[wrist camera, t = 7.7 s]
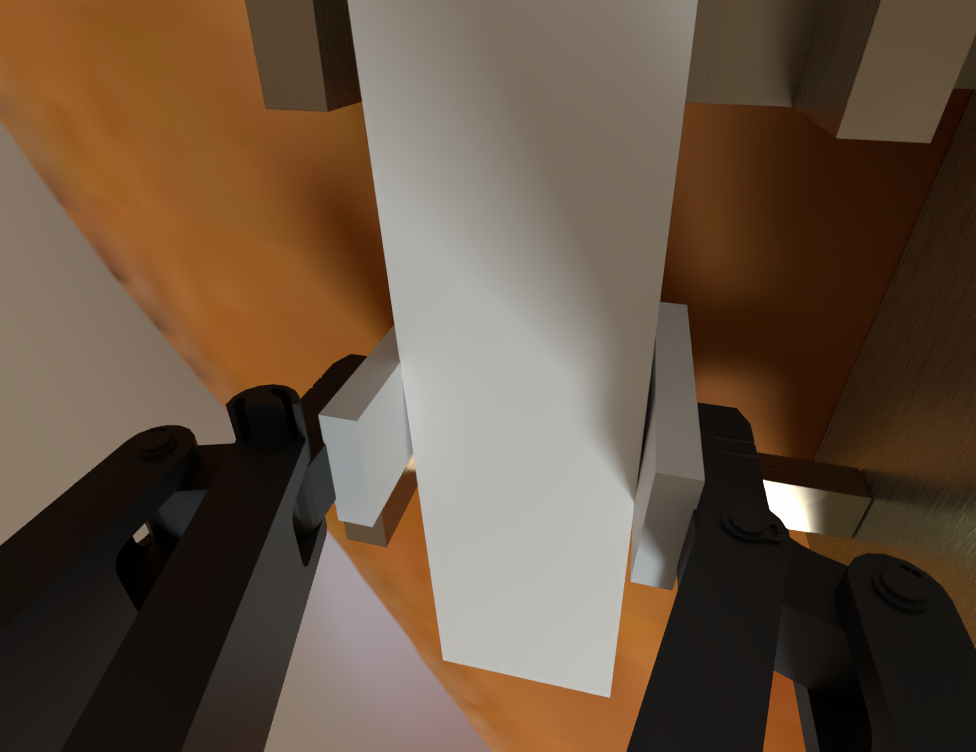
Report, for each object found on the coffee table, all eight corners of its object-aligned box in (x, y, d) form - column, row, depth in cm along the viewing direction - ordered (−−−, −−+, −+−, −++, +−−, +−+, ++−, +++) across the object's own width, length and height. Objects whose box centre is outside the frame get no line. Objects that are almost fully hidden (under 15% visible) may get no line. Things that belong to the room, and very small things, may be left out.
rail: (445, -61, 12) (331, -105, 8) (694, -84, 11) (717, -151, 7) (484, 537, 21) (443, 660, 17) (619, 559, 20) (609, 697, 16)
